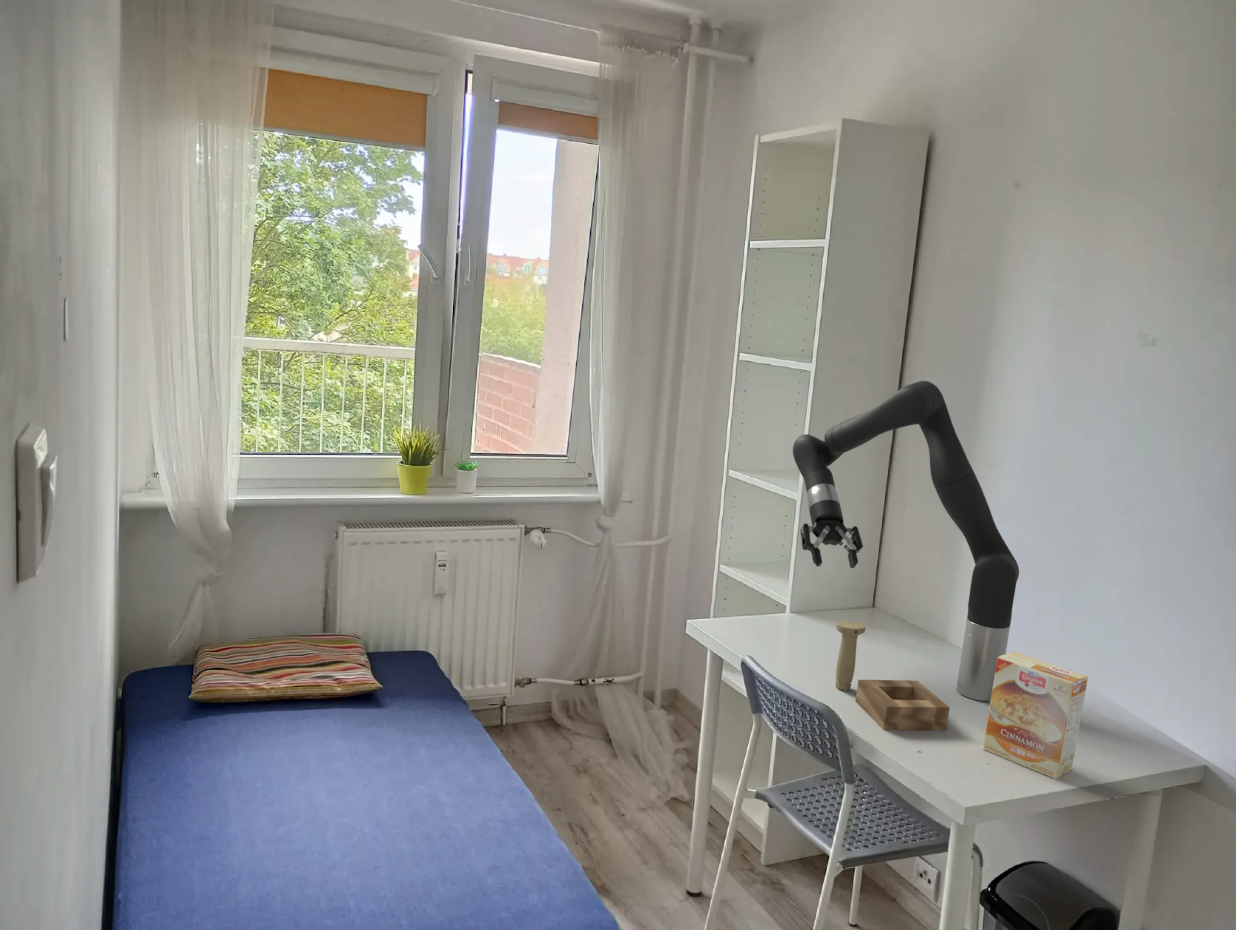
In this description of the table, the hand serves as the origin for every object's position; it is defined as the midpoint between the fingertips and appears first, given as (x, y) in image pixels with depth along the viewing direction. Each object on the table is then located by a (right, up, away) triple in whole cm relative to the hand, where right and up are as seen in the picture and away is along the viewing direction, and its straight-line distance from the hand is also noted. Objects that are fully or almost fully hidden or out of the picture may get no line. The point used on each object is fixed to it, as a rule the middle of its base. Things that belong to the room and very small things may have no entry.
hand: (836, 565), depth 224 cm
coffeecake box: (+29, -35, -36) cm, 58 cm away
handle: (0, -27, -7) cm, 28 cm away
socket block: (+9, -30, -19) cm, 37 cm away
